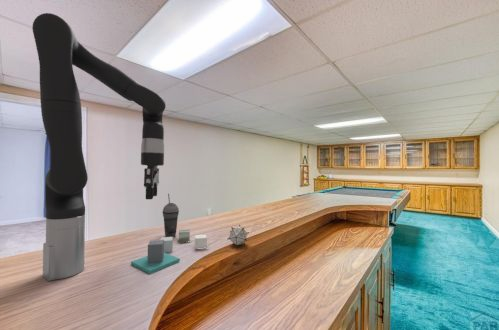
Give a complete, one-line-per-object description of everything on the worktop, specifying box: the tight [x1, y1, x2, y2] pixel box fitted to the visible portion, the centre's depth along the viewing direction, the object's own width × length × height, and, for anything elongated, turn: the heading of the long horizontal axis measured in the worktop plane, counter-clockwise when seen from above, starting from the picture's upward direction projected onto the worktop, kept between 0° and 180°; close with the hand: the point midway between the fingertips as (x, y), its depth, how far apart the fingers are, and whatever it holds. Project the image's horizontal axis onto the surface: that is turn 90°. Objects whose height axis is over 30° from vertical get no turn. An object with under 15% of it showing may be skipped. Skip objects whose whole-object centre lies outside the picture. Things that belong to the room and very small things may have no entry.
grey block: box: [159, 236, 174, 253], centre depth 86 cm, size 4×4×4 cm
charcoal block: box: [147, 239, 164, 264], centre depth 75 cm, size 4×4×6 cm
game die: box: [227, 224, 250, 248], centre depth 93 cm, size 9×8×10 cm
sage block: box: [178, 228, 191, 243], centre depth 98 cm, size 4×4×4 cm
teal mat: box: [130, 252, 181, 275], centre depth 75 cm, size 11×11×1 cm
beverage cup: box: [161, 193, 180, 239], centre depth 103 cm, size 7×7×20 cm
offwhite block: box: [194, 234, 208, 250], centre depth 90 cm, size 4×4×4 cm
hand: (151, 197), depth 79 cm, fingers open, 8 cm apart
